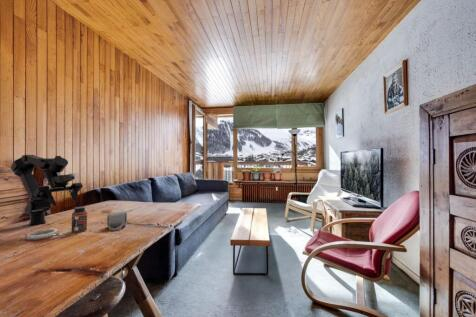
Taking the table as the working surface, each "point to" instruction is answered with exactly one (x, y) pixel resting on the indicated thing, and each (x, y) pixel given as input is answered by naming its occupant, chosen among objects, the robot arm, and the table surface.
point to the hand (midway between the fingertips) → (66, 203)
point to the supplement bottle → (79, 220)
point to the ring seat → (41, 234)
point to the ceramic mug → (117, 220)
